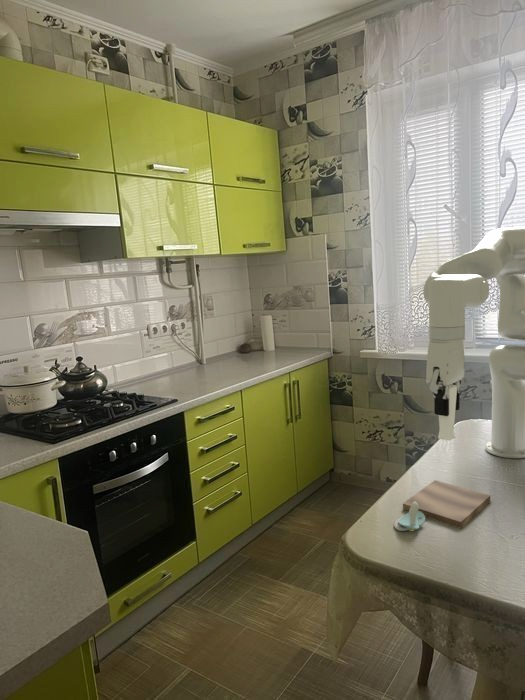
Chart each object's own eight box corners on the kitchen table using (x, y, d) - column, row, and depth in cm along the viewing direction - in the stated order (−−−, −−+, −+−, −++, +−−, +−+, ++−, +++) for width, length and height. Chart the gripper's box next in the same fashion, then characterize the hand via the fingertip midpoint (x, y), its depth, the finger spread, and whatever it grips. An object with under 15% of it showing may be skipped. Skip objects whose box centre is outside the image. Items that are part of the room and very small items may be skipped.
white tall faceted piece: (457, 441, 116) (457, 377, 113) (437, 440, 117) (436, 376, 115) (456, 434, 120) (456, 372, 118) (437, 433, 122) (436, 372, 119)
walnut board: (435, 485, 132) (435, 480, 132) (490, 501, 122) (490, 495, 122) (402, 509, 121) (402, 503, 121) (460, 528, 111) (460, 522, 111)
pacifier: (389, 531, 112) (415, 537, 109) (387, 504, 112) (414, 510, 108) (402, 516, 118) (427, 522, 114) (400, 491, 117) (426, 496, 114)
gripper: (447, 327, 123) (448, 400, 126) (412, 338, 111) (413, 419, 115) (479, 328, 118) (478, 405, 121) (445, 340, 106) (445, 425, 109)
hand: (447, 411), depth 118 cm, fingers closed on white tall faceted piece, 4 cm apart
